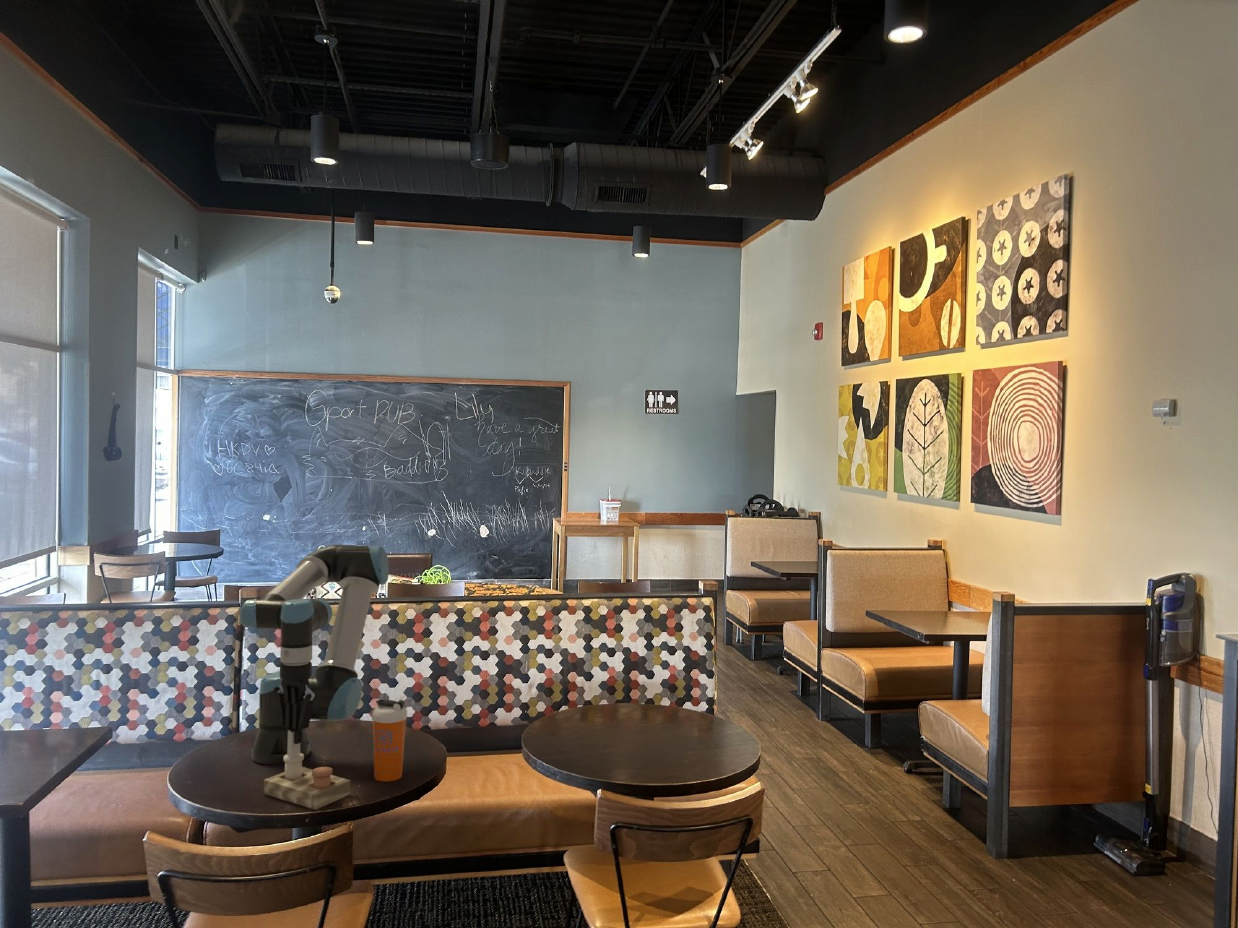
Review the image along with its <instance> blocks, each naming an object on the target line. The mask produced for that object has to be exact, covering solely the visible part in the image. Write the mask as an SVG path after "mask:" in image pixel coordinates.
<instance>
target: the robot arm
mask: <svg viewBox="0 0 1238 928" xmlns="http://www.w3.org/2000/svg"><path fill="white" fill-rule="evenodd" d="M389 565H390V564H389V557H388V554H387V551H386V550H385V548H384V547H383V546H377V545H371V544H369V545H356V544H355V545H352V544H332V545H327V546H323V547H321V548H319V549H316V550H314V551H313V552H311V553H309V554H307V555H306V556H305V557H303V558H302V559H301V560H300V561H299V562H298V564H297V566H296V569H295V570H293V571H292V572H291V573H290V574H289V575H287V577H285V578H284V579H283V580H281V582H280V583H278V584H277V585H276V586H274V588H273V589H271V590H270V591H269V592H268V593H267V594H265V595H264V596H263V597H262V598H261V599H258V598H254V599H247V600H246V601H244V602H243V604H242V606H241V608H240V612H239V617H240V623H241V625H242V626H243V627H244V628H246V629H255V630H259V629H260V630H280V662H281V663H280V664H279V670H278V671H274V672H271V673H268V674H267V675H265V676H264V677H262V679H261V680H260V684H259V692H258V695H259V697H258V699H259V700H258V701H259V702H258V703H259V705H258V706H259V708H258V709H259V713H258V717H259V718H258V730H257V734H256V737H255V741H254V744H253V745H252V748H251V760H252V761H253V762H255V763H257V764H263V765H264V764H265V765H282V764H283V765H284V764H285V762H284V761H283V759H284V756H285V755H287V757H291V758H292V757H294V756H297V755H300V753H302V754H304V758H306V757H307V756H309V755H310V746H311V745H310V741H309V739H308V735H307V732H306V729H308V728H309V727H310V722H311V721H329V722H337V721H339V722H342V721H343V722H345V721H347V720H349V719H351V717H353V715H355V713H356V711H357V709H358V707H359V704H360V702H361V698H362V690H363V684H362V681H361V679H360V678H359V674H358V672H357V671H356V669H355V667H356V662H357V657H358V654H359V650H360V645H361V641H362V637H363V633H364V629H365V626H366V625H365V624H366V620H367V616H368V611H369V607H370V604H371V599H372V596H373V595H375V594H377V593H378V591H379V588H380V586H381V585H382V586H383V585H385V584H386V583H388V580H389V574H390V573H389V572H390V571H389V570H390V569H389V568H390V567H389ZM325 583H339V584H338V585H339V587H340V588H341V589H342V590H341V595H340V599H339V603H338V607H337V610H336V615H335V618H334V621H333V626H332V630H331V634H330V636H329V641H328V645H327V648H326V653H325V657H324V660H323V663H321V664H320V665H319V666H318V667H316V669H315V672H314V676H312V670H313V663H312V662H311V661H312V660H313V637H314V635H313V633H314V632H316V631H317V630H320V629H323V628H324V627H326V625H328V624H329V623H330V622H331V620H332V618H333V609H332V606H331V605H330V603H329V602H328V601H326V600H324V599H312V600H311V599H304V598H305V597H306V596H307V595H308V594H309V593H310V592H312V590H314V589H315V588H317V587H321V586H322V585H323V584H325Z"/></svg>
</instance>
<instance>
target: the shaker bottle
mask: <svg viewBox="0 0 1238 928" xmlns="http://www.w3.org/2000/svg"><path fill="white" fill-rule="evenodd" d="M375 703H376V704H377V706H376V707H375V708H374V710H373V711H372V713H371V715H372V718H371V721H372V726H373V729H372V730H373V731H372V733H373V768H374V769H373V770H374V773H373V776H374V780H375V781H378V782H382V783H383V782H385V783H386V782H394V781H398V780H400V779H401V778H402V777H403V767H404V766H403V765H404V755H405V753H404V751H405V738H406V737H405V736H406V727H407V726H406V725H407V718H408V710H407V709H406V701H405V700H403V699H399V700H393V699H383V698H382V699H378V700H376V701H375Z"/></svg>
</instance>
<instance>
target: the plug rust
mask: <svg viewBox="0 0 1238 928" xmlns="http://www.w3.org/2000/svg"><path fill="white" fill-rule="evenodd" d="M331 775H333V768H332V767H329V766H320V767H315V768H314V769H312V776H313V788H317V789H320V790H322V789H324V788H327V787H329V786H330V780H331Z"/></svg>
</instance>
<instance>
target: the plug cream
mask: <svg viewBox="0 0 1238 928" xmlns="http://www.w3.org/2000/svg"><path fill="white" fill-rule="evenodd" d="M303 760H305V757H304V754H302V753H300V755H297V756H294V757H292V758H291V757H287V755H285V756H284V759H283V761H284V762H285V763H284V772H285V779H286V780H290V781H294V780H297V779H299V778H302V767H303Z"/></svg>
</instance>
